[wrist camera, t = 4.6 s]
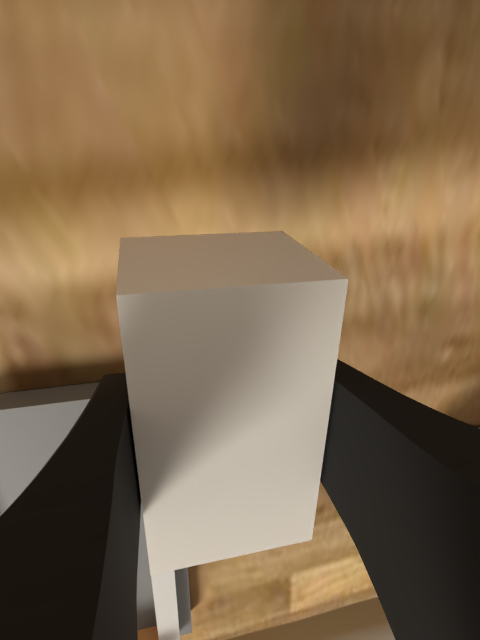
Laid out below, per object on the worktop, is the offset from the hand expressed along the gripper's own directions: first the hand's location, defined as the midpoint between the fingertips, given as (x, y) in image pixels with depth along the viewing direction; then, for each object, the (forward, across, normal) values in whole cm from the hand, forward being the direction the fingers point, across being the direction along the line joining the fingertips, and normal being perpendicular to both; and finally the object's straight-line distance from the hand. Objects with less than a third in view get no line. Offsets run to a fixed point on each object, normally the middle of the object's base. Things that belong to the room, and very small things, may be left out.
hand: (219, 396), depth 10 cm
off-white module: (+2, 0, 0) cm, 2 cm away
